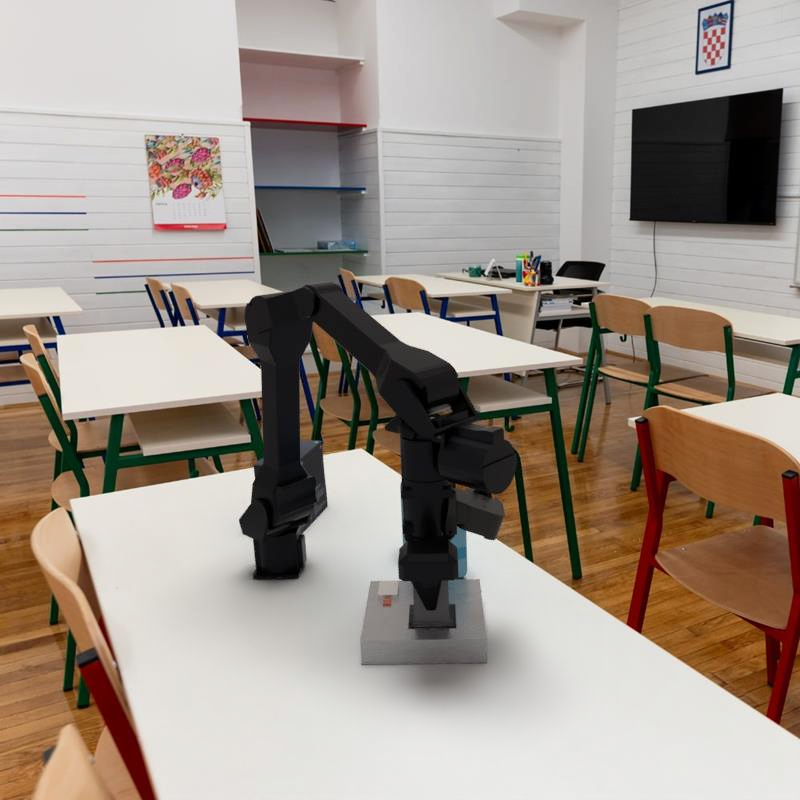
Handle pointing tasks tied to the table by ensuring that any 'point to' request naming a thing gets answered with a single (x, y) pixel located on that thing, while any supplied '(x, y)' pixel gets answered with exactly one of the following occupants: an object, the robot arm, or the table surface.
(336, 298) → the robot arm
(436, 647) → the faceplate
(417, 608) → the plug
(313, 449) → the small box
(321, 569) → the table surface
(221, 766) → the table surface
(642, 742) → the table surface
